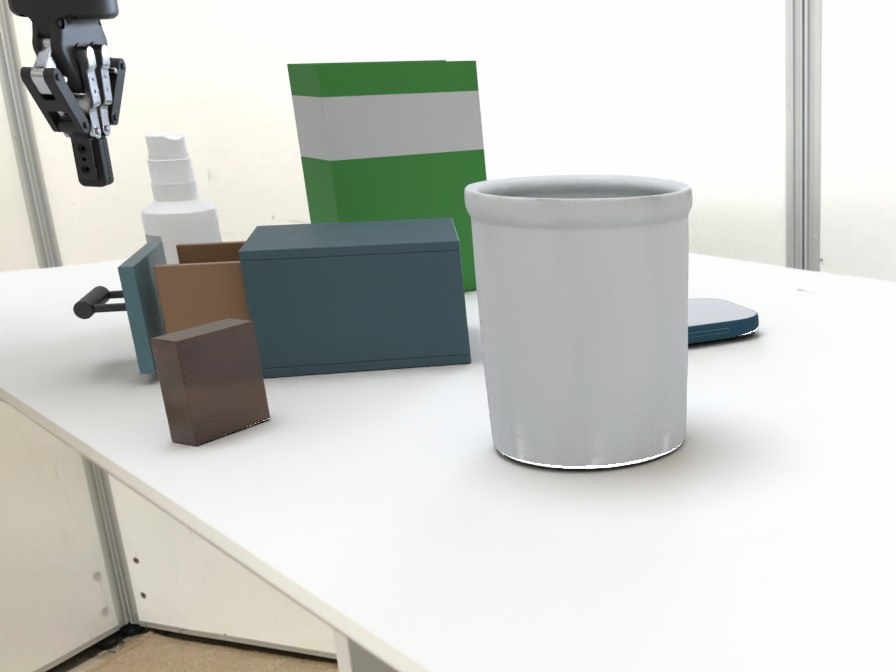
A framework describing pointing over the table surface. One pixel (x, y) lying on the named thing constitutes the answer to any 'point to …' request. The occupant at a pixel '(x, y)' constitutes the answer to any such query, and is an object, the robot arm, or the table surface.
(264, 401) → the walnut board
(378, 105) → the green cereal box
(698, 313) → the external hard drive
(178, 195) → the spray bottle
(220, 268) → the drawer
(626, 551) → the table surface
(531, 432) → the utensil holder
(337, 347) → the cabinet
